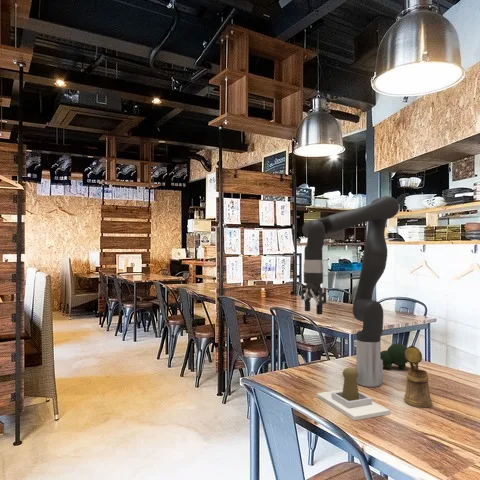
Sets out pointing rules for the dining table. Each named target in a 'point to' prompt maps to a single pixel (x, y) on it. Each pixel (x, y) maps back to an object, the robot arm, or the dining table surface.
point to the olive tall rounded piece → (350, 384)
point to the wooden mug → (416, 380)
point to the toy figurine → (394, 356)
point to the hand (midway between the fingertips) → (313, 312)
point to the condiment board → (353, 405)
